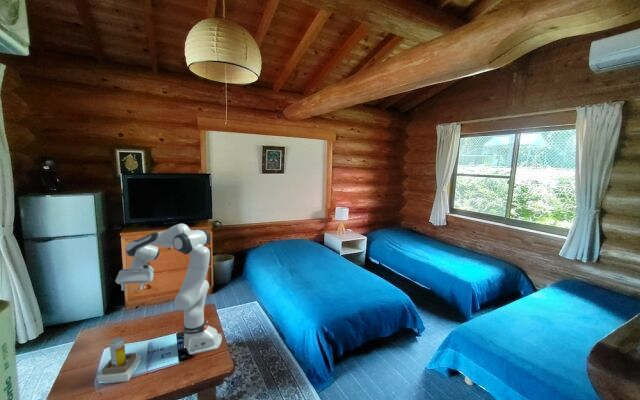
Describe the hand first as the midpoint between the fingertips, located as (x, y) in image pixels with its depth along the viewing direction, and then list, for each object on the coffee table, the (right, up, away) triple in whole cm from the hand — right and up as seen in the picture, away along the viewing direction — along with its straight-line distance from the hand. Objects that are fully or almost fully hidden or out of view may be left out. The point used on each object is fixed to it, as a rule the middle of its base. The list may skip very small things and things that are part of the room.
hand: (131, 289), depth 166 cm
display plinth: (+9, -37, -21) cm, 43 cm away
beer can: (+9, -33, -22) cm, 41 cm away
